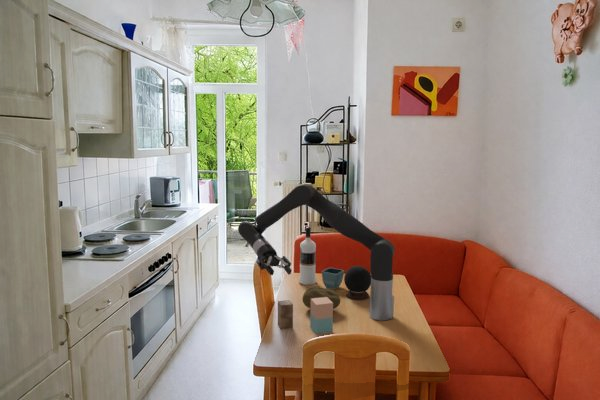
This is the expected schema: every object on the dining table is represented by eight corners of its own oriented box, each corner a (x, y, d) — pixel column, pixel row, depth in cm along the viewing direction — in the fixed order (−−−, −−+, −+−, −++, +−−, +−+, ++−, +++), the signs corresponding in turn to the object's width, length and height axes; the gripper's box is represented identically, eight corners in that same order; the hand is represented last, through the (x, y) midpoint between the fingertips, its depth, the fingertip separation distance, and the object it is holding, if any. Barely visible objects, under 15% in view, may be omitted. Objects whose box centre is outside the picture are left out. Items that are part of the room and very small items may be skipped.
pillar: (289, 323, 184) (289, 299, 183) (292, 327, 180) (293, 304, 178) (277, 324, 183) (277, 301, 182) (280, 329, 178) (280, 305, 177)
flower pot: (344, 286, 230) (344, 270, 229) (336, 291, 223) (336, 274, 222) (329, 283, 235) (329, 267, 234) (320, 288, 227) (321, 271, 226)
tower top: (326, 311, 182) (326, 296, 181) (332, 317, 175) (333, 303, 175) (310, 312, 180) (310, 298, 179) (316, 319, 173) (316, 304, 173)
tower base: (326, 324, 183) (326, 311, 182) (332, 332, 176) (332, 317, 175) (310, 326, 181) (310, 312, 180) (315, 334, 174) (316, 319, 173)
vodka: (316, 285, 232) (317, 228, 228) (299, 285, 232) (299, 228, 227) (315, 279, 241) (316, 225, 237) (298, 279, 241) (298, 225, 237)
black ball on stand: (363, 303, 208) (364, 271, 206) (338, 297, 215) (339, 267, 213) (375, 295, 219) (376, 265, 216) (351, 289, 226) (352, 261, 224)
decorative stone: (341, 307, 202) (341, 285, 201) (339, 316, 192) (339, 294, 190) (304, 304, 206) (305, 283, 204) (300, 313, 195) (300, 291, 193)
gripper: (252, 243, 188) (269, 265, 176) (280, 243, 196) (298, 265, 184) (247, 258, 190) (264, 281, 178) (275, 257, 199) (293, 279, 187)
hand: (281, 273), depth 181 cm, fingers open, 8 cm apart
